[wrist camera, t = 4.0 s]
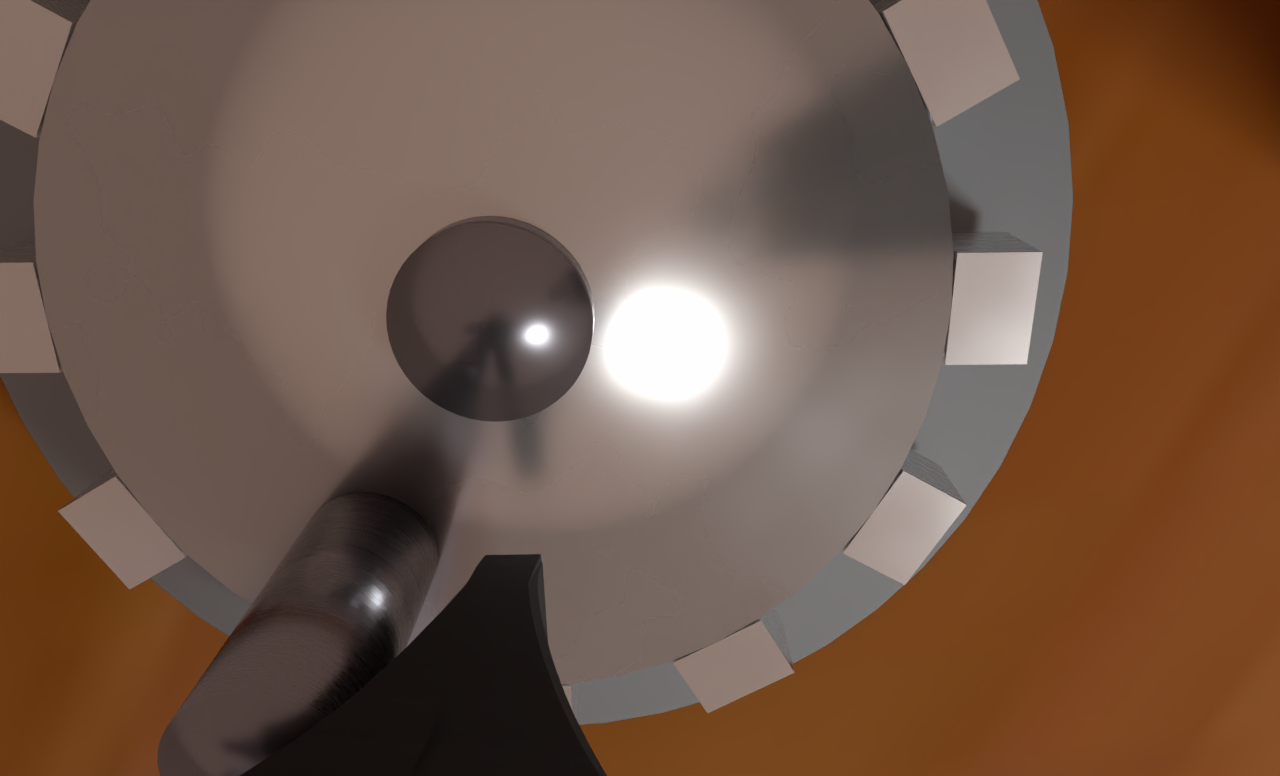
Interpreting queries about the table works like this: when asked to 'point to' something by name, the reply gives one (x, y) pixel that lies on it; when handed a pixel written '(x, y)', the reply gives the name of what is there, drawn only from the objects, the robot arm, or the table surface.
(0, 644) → the table surface
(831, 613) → the sprocket base
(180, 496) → the sprocket
